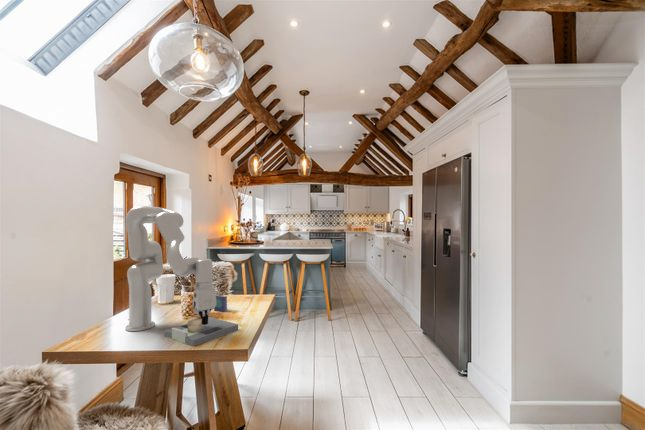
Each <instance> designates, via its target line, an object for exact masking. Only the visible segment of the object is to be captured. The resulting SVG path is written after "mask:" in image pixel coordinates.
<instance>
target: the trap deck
mask: <svg viewBox="0 0 645 430" xmlns="http://www.w3.org/2000/svg"><path fill="white" fill-rule="evenodd" d="M238 330H239V324H238V323H233V322H231V321H226V320H223V319H219V318H215V317H211V316H208V324H206V325H203V324H202V330H201V331H199V332H195V333H189V332H188V322H187V323H185V324H181V325H178V326H175V327H172V328H168V329H164V335H163V336H164V337H167V338H169V339H172V340H174V341H177V342H180V343H183V344H186V345H188V346H192V347H196V346H198V345H201V344H204V343H206V342H209V341H211V340H214V339H217V338H219V337H222V336H224V335H227V334H230V333H233V332H235V331H238Z"/></svg>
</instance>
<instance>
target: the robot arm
mask: <svg viewBox="0 0 645 430" xmlns="http://www.w3.org/2000/svg"><path fill="white" fill-rule="evenodd" d="M144 224H155V226H156V227H157V229H158V230H159V233H160V234H161V236H162V238H163V240H164V241H165V243H166V250H165V252H166V253H165V255H166V260H167V263H168V265H169V266H170V268H171V270H172V272H173V274H174V275H176V276H179V277H184V276H188V275H192V274H195V284H193V288H195V289H194V291H193V294H192V295H193V296H192V309H193V314H194V315H199V316H200V318H202V324H203V325H206V324H208V317H209V315H210V312H211V311H214V308H215V306H216V289H215V286H214V285H213V284H214V283H213V260H212V259H211V258H198V257H189V258H184V257H183V255H182V254H181V251H180V245H181V244H182V243H183V241H185V235H184V234H183V232H182V230H181V227H182V226H183V225H184V218H183V216H182V214H181V213H179V212H177V211H173V210H170V209H167V208H163V207H159V206H149V205H148V206H147V205H139V206H134V207H132V208H130V210H128V212H127V213H126V216H125V226H126V231H127V242H128V253H129V254H128V255H129V258H130V259H132V261H137V262H138V261H144V260H145V261H144V262H140V263H135V264H132V265H131V266H130V267H129V268H128V269H127V270H126V272H127V273H126V277H127V283H128V290H129V291H128V292H129V296H128V297H129V301H128V304H129V313H128V315H129V316H128V321H129V322H128V324H127V325H126V326H125V330H126V331H127V332H140V331H146V330H149V329H151V328H153V327H155V325H156V322H155V321H153V320H152V300H153V299H152V288H151V285H150V282H149V281H154V280H156V279H157V278H159V277H160V276H161V275H163V273H164V272H163V271H164V263H163V262H164V261H163V260H164V259H163V249H162V246H161V244H160V243H159V242H157V240H151V239H150V240H149V234H148V230H147V228H146V227H145V225H144Z"/></svg>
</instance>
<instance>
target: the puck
mask: <svg viewBox="0 0 645 430" xmlns="http://www.w3.org/2000/svg"><path fill="white" fill-rule="evenodd" d="M187 323H188V332H189V333H195V332H199V331H201V330H202V318H201V316H200V317H191V318H188V319H187Z"/></svg>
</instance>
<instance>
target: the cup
mask: <svg viewBox="0 0 645 430" xmlns="http://www.w3.org/2000/svg"><path fill="white" fill-rule="evenodd" d="M176 276H177V275H176V274H175V273H173V274H172V273H167V274H162V275H161V276H160V277H159V278H157V279H155V284H156V286H157V287H156V289H157V304H158V305H169V303H170V304H172V302H173V303H174V301H175V283H176Z"/></svg>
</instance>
